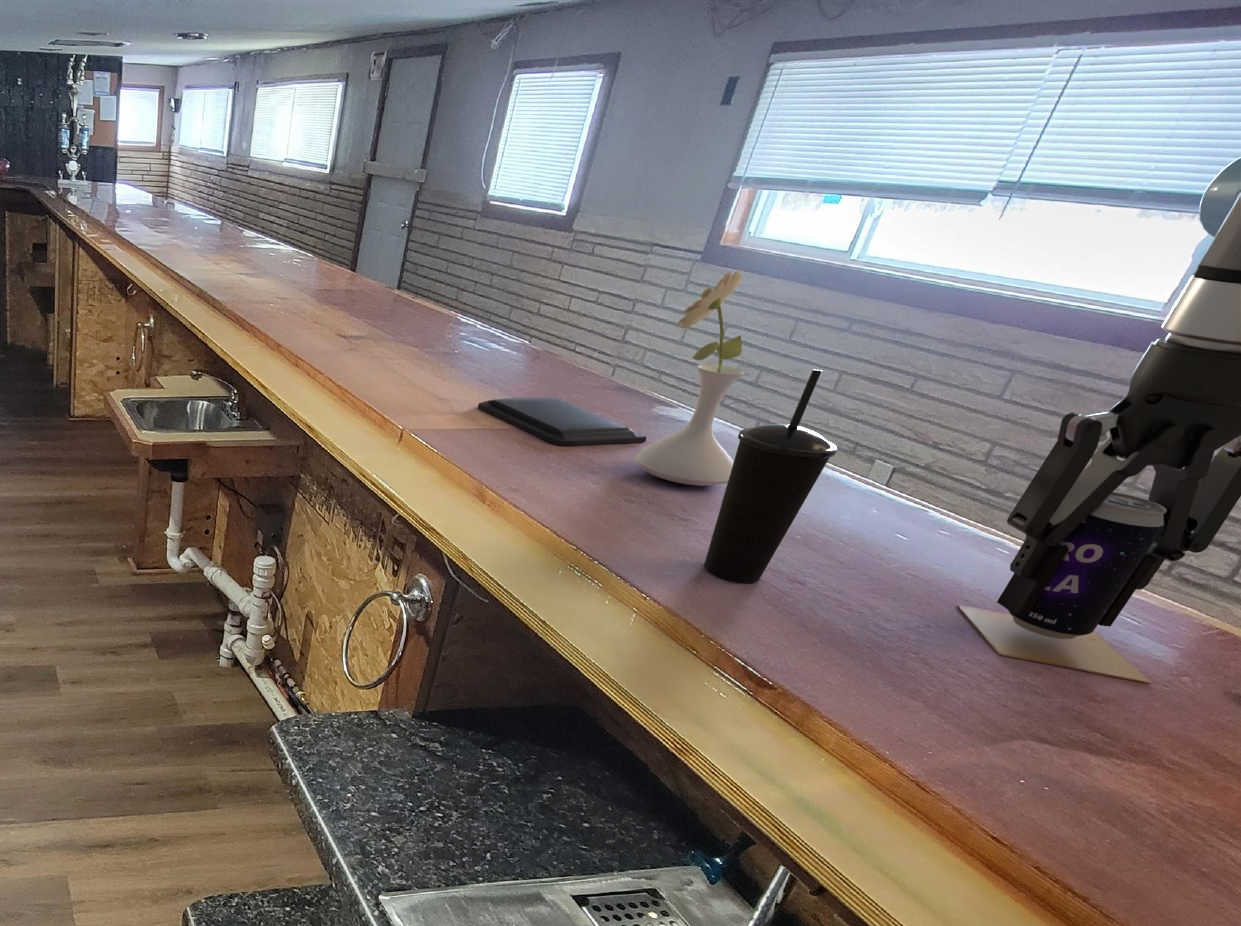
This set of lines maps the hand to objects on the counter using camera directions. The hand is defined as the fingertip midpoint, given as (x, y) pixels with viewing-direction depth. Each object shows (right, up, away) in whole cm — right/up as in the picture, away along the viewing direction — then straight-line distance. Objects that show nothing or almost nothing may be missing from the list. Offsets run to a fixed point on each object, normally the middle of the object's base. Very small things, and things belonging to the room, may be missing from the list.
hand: (1052, 613), depth 78 cm
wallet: (-16, +29, +55) cm, 65 cm away
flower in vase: (-11, +18, +35) cm, 41 cm away
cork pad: (0, -3, 0) cm, 3 cm away
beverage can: (0, -1, +1) cm, 2 cm away
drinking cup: (-21, +4, +11) cm, 24 cm away
